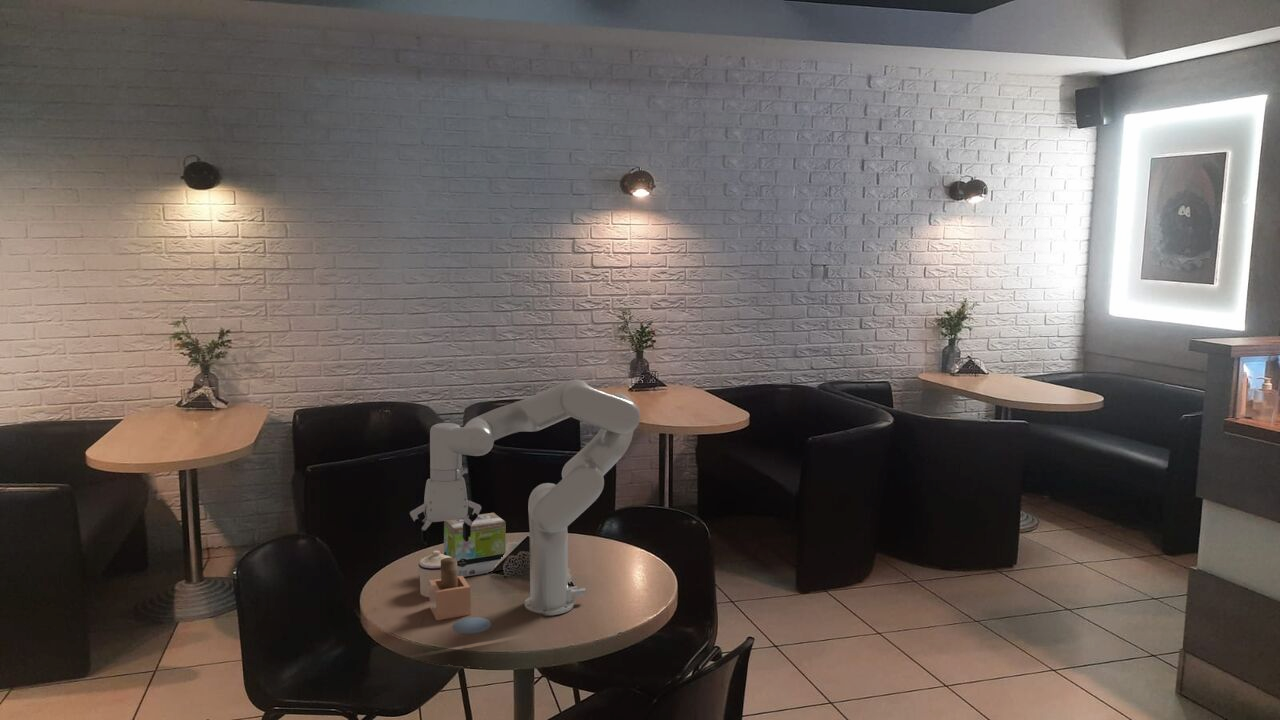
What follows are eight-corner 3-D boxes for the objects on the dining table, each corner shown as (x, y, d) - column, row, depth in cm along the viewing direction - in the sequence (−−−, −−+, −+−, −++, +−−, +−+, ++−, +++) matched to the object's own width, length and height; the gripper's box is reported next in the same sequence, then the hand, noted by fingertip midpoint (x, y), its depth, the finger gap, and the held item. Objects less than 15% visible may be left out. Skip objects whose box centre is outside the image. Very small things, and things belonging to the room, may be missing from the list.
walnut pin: (456, 606, 220) (455, 556, 218) (459, 612, 216) (458, 561, 215) (440, 609, 218) (439, 558, 217) (443, 615, 215) (442, 564, 213)
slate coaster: (485, 618, 215) (485, 614, 215) (495, 632, 207) (495, 629, 207) (449, 624, 212) (449, 621, 211) (457, 639, 203) (457, 636, 203)
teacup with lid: (453, 599, 226) (452, 556, 225) (417, 601, 225) (416, 558, 224) (456, 582, 238) (455, 541, 237) (422, 584, 237) (421, 542, 235)
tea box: (455, 580, 240) (453, 528, 238) (443, 569, 248) (442, 518, 246) (506, 570, 247) (505, 520, 245) (494, 559, 256) (493, 510, 254)
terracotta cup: (463, 604, 223) (462, 575, 222) (470, 617, 215) (470, 587, 214) (429, 610, 220) (429, 580, 219) (436, 623, 212) (435, 592, 211)
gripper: (477, 467, 220) (477, 533, 222) (407, 473, 213) (407, 541, 215) (484, 474, 213) (484, 542, 215) (412, 480, 206) (413, 551, 208)
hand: (446, 542), depth 215 cm, fingers open, 9 cm apart
